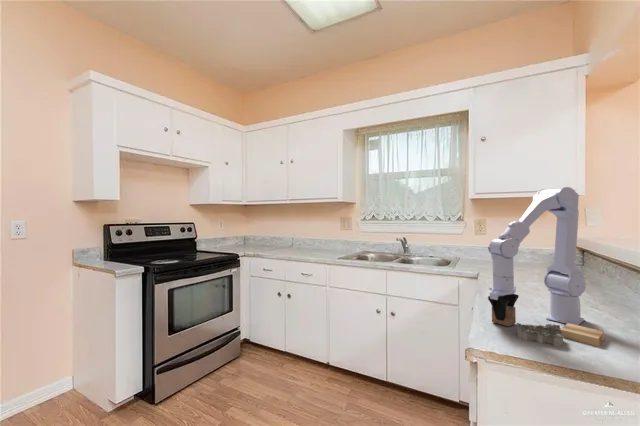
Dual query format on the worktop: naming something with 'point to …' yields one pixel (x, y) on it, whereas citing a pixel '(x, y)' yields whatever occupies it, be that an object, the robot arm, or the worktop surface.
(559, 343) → the egg carton
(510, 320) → the walnut cube
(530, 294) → the worktop surface
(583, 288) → the robot arm
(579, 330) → the board
